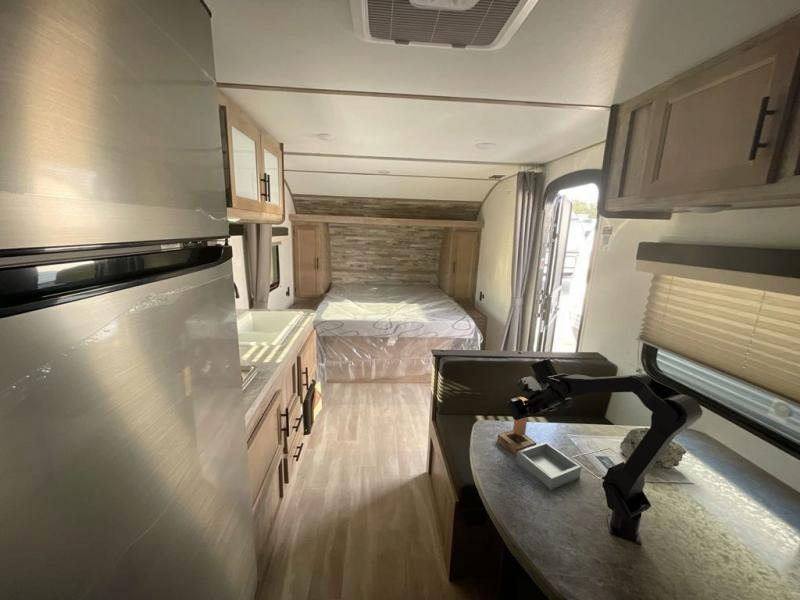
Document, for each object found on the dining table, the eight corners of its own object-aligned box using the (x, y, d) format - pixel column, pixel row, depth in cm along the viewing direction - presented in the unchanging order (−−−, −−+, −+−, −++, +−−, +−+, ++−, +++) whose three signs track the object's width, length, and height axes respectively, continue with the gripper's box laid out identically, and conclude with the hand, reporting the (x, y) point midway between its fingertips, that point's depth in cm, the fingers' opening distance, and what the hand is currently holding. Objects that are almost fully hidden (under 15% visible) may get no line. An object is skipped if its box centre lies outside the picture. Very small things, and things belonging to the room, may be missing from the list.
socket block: (535, 450, 110) (536, 442, 109) (516, 456, 106) (517, 448, 105) (516, 435, 118) (516, 428, 117) (497, 441, 114) (498, 433, 113)
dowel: (524, 436, 108) (528, 403, 105) (512, 433, 109) (516, 401, 107) (525, 430, 111) (529, 398, 109) (513, 427, 113) (517, 396, 111)
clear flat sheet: (570, 456, 107) (609, 447, 113) (570, 458, 107) (609, 448, 113) (599, 479, 97) (640, 467, 103) (599, 480, 97) (639, 468, 103)
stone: (697, 459, 99) (652, 451, 98) (669, 478, 106) (627, 470, 105) (678, 431, 106) (636, 423, 105) (653, 450, 114) (614, 443, 113)
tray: (579, 478, 97) (581, 466, 97) (549, 490, 92) (551, 478, 91) (544, 452, 109) (545, 441, 108) (516, 462, 103) (517, 451, 103)
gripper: (555, 369, 106) (526, 386, 118) (514, 377, 99) (487, 394, 110) (574, 401, 101) (541, 416, 113) (531, 413, 93) (501, 427, 105)
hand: (518, 412), depth 110 cm, fingers closed on dowel, 4 cm apart
